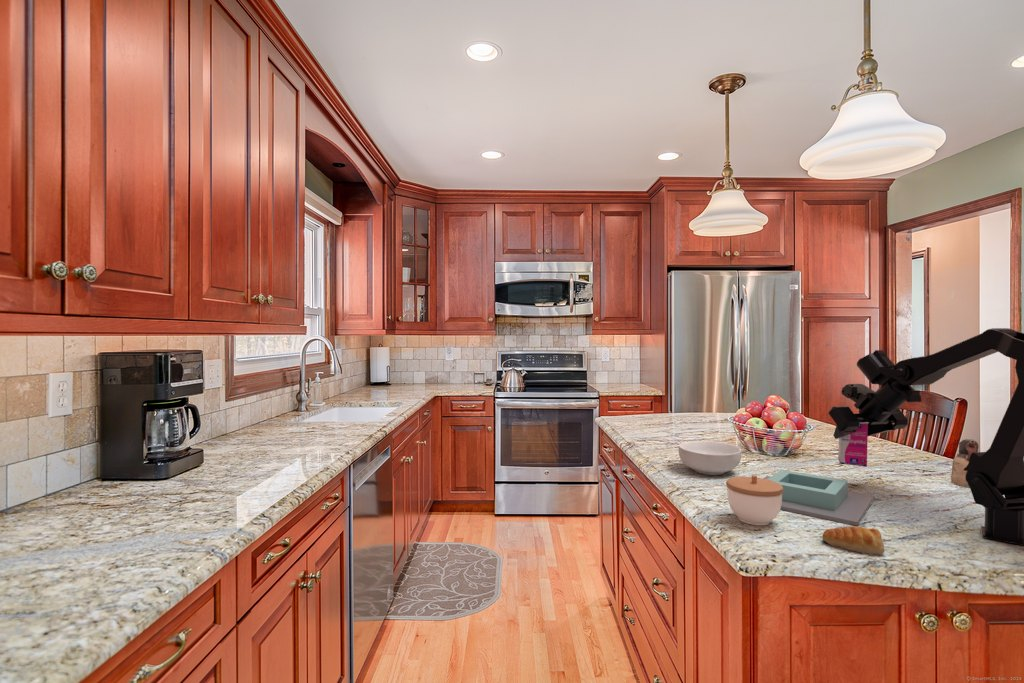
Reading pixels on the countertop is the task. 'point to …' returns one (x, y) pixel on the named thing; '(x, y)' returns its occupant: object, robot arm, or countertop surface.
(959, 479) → the figurine
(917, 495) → the countertop surface
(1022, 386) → the robot arm
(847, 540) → the pastry
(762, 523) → the lidded jar
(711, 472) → the cereal bowl
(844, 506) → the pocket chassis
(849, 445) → the supplement box
